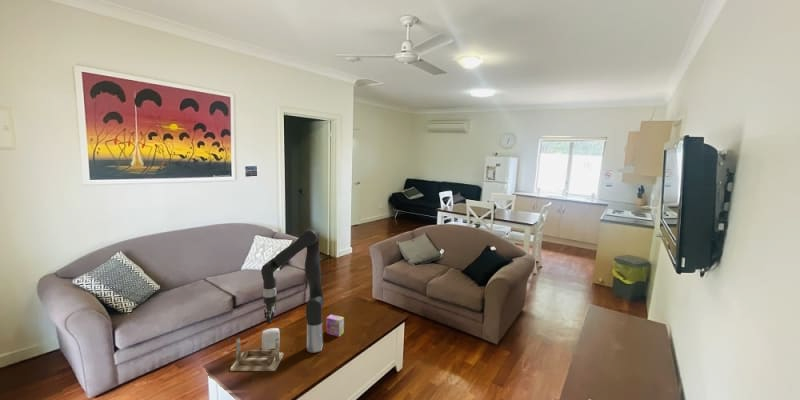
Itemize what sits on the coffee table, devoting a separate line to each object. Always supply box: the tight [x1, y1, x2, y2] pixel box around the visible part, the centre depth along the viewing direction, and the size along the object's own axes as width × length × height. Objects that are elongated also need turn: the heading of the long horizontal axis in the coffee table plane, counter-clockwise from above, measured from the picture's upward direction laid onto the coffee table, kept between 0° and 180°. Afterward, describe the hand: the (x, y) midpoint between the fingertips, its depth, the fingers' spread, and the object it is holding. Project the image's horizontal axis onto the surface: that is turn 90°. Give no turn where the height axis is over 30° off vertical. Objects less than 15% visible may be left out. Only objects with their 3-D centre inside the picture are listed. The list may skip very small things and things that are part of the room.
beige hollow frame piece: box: [230, 337, 284, 372], centre depth 185 cm, size 24×15×14 cm, turn 93°
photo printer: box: [261, 327, 281, 350], centre depth 200 cm, size 10×4×12 cm, turn 116°
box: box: [325, 314, 345, 338], centre depth 219 cm, size 10×6×12 cm, turn 68°
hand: (270, 320), depth 199 cm, fingers open, 5 cm apart
